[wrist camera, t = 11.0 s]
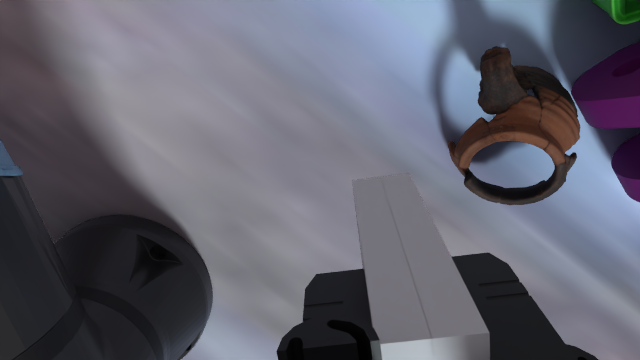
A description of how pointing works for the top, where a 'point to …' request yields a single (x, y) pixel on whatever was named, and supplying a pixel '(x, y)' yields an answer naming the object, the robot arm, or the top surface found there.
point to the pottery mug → (519, 125)
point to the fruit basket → (621, 10)
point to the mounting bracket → (615, 108)
